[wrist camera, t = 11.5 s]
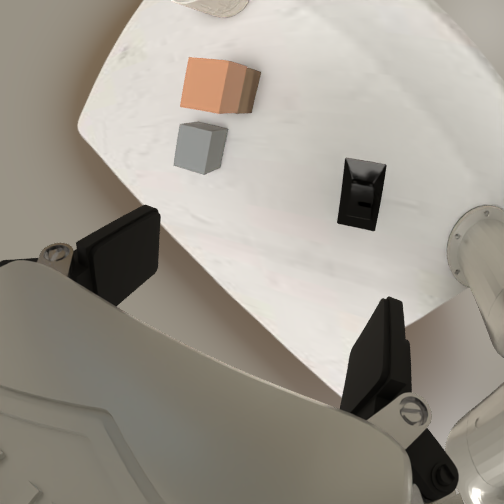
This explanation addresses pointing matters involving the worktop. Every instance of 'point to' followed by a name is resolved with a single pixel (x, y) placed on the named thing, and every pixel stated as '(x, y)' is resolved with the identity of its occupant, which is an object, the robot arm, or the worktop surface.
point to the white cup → (215, 6)
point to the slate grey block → (200, 147)
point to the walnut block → (249, 91)
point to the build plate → (361, 193)
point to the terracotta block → (213, 85)
